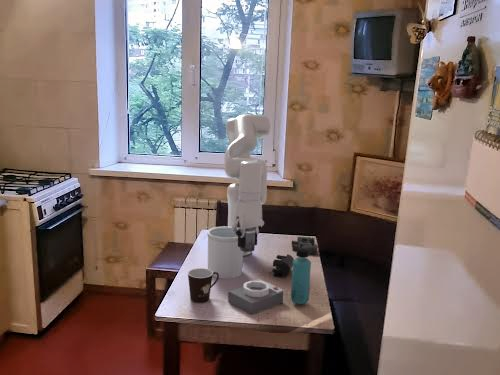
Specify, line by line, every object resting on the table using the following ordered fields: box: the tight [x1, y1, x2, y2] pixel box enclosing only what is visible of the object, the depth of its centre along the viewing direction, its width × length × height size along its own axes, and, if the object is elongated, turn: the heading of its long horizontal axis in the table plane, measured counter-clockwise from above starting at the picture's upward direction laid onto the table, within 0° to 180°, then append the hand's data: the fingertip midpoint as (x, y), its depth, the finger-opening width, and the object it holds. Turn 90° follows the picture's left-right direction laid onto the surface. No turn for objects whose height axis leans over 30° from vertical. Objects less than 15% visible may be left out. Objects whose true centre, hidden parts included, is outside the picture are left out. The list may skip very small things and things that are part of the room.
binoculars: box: [291, 236, 318, 255], centre depth 215 cm, size 11×16×6 cm
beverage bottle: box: [290, 248, 312, 305], centre depth 155 cm, size 6×7×20 cm
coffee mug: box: [187, 267, 220, 304], centre depth 157 cm, size 12×9×10 cm
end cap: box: [272, 254, 295, 278], centre depth 184 cm, size 10×7×7 cm
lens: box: [240, 227, 256, 253], centre depth 161 cm, size 5×5×8 cm
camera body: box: [227, 278, 285, 315], centre depth 157 cm, size 12×15×6 cm
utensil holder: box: [206, 225, 244, 279], centre depth 180 cm, size 15×15×18 cm
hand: (247, 245), depth 161 cm, fingers closed on lens, 5 cm apart
